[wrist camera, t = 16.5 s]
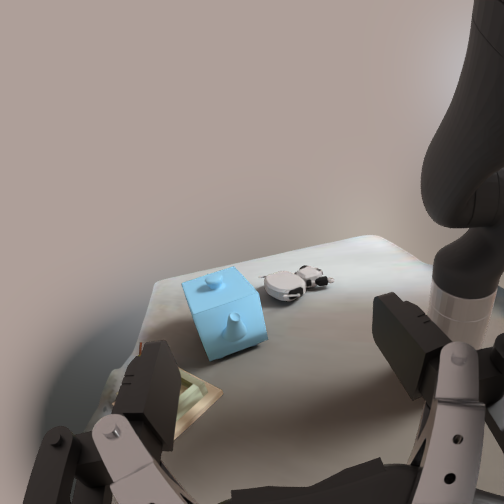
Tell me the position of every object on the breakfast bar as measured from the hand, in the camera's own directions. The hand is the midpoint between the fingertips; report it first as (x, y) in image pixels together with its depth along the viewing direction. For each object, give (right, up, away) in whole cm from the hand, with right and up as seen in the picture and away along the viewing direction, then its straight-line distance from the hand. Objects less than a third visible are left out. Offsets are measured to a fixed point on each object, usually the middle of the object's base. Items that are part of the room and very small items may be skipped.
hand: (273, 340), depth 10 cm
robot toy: (+10, -6, +58) cm, 59 cm away
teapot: (-4, -14, +44) cm, 46 cm away
